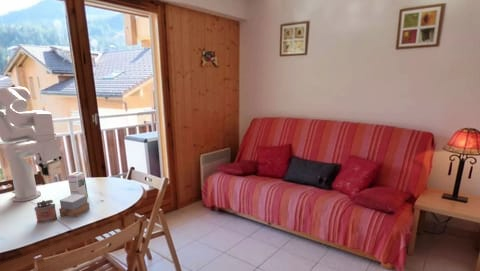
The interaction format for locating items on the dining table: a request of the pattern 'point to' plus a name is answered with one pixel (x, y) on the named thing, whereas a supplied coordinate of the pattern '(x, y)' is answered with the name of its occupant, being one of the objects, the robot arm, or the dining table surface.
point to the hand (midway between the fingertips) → (51, 172)
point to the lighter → (45, 212)
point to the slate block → (73, 201)
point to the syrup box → (77, 183)
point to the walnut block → (74, 211)
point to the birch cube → (53, 168)
